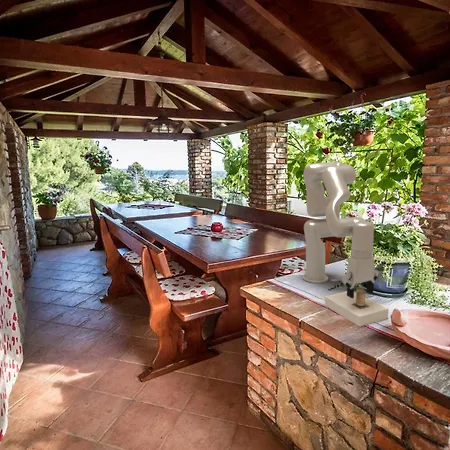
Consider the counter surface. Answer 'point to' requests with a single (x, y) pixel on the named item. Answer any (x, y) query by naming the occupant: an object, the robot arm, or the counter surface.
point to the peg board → (356, 309)
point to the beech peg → (360, 298)
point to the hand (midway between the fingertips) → (360, 294)
